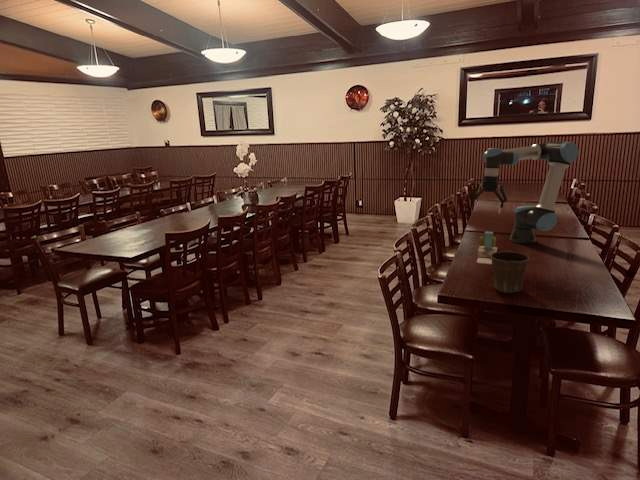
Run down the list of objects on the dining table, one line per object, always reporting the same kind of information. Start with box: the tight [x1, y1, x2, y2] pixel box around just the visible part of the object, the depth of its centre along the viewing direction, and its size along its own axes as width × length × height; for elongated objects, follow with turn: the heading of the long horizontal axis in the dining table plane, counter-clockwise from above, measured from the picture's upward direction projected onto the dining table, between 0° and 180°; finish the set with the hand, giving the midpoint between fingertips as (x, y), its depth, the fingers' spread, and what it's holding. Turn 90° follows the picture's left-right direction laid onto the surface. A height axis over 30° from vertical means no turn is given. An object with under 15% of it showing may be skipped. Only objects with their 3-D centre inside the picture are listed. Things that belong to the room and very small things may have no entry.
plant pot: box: [490, 251, 530, 294], centre depth 195 cm, size 16×16×16 cm
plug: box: [484, 230, 494, 250], centre depth 246 cm, size 4×4×14 cm
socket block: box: [477, 245, 498, 259], centre depth 247 cm, size 10×10×4 cm
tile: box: [476, 257, 493, 266], centre depth 236 cm, size 9×9×1 cm
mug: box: [479, 235, 497, 247], centre depth 257 cm, size 12×10×10 cm
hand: (486, 212), depth 244 cm, fingers open, 13 cm apart
